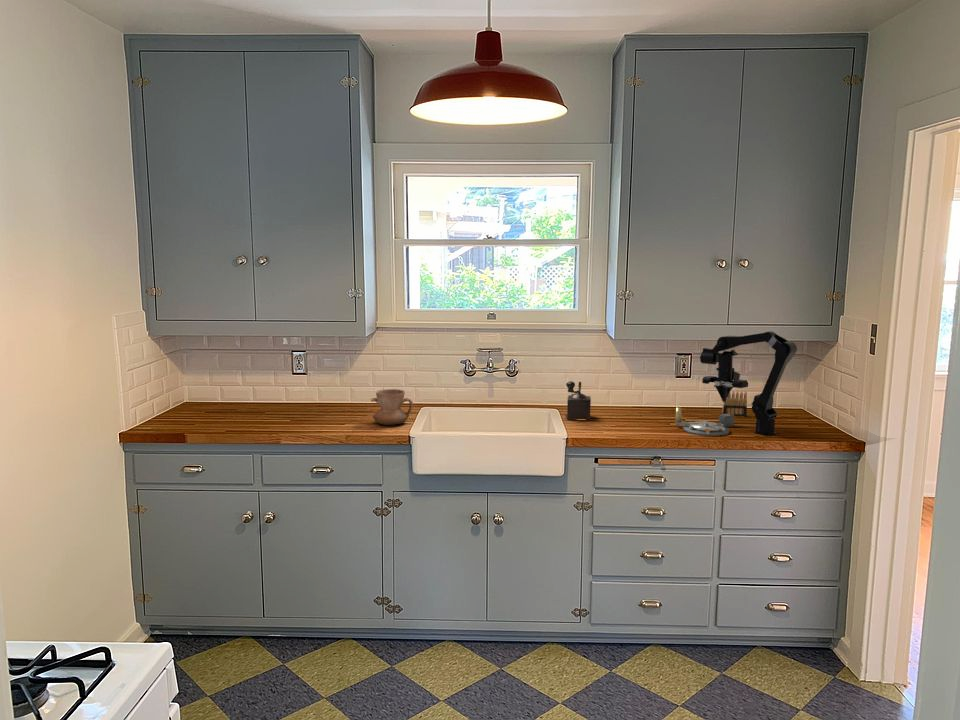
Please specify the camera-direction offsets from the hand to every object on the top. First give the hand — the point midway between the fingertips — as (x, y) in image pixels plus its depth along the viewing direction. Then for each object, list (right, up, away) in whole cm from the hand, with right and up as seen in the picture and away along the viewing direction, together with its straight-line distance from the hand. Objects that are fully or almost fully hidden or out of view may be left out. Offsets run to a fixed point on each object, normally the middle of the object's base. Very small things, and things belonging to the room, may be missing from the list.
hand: (724, 401), depth 297 cm
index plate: (-10, -12, -7) cm, 17 cm away
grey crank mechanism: (-12, -10, -6) cm, 17 cm away
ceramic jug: (-142, -10, +3) cm, 143 cm away
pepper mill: (-61, -9, +13) cm, 63 cm away
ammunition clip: (+12, -8, +21) cm, 25 cm away
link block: (+1, -11, +2) cm, 11 cm away
